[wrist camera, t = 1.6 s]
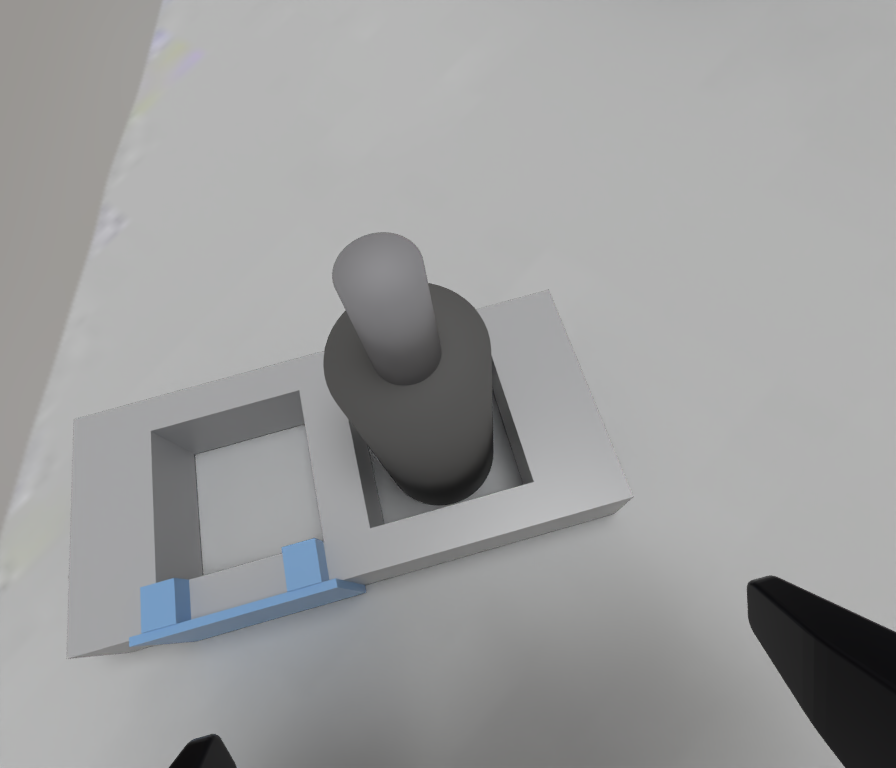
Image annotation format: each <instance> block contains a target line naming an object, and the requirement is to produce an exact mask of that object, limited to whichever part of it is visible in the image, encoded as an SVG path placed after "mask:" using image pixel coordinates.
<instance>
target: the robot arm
mask: <svg viewBox="0 0 896 768" xmlns="http://www.w3.org/2000/svg"><path fill="white" fill-rule="evenodd" d="M747 603H748V619H749V623H750V626H751V628H752V630H753V632H754V634H755V635H756V637H757V639H758V640H759V642H760V643H761V645H762V646H763V648H764V650H765V651H766V653H767V654H768V656H769V657H770V659H771V661H772V662H773V664H774V665H775V667H776V668H777V670H778V672H779V673H780V675H781V676H782V678H783V679H784V681H785V683H786V684H787V686H788V687H789V689H790V690H791V692H792V694H793V695H794V697H795V698H796V700H797V701H798V703H799V705H800V706H801V708H802V709H803V711H804V712H805V714H806V715H807V717H808V718H809V720H810V721H811V723H812V724H813V726H814V727H815V728H816V730H817V731H818V733H819V734H820V735H821V737H822V738H823V739H824V741H825V742H826V743H827V745H828V746H829V747H830V748H831V750H832V751H833V752H834V754H835V755H836V756H837V758H838V759H839V760H840V761H841V763H842V764H843V765H844V767H845V768H896V632H895V631H892V630H890V629H888V628H886V627H884V626H882V625H880V624H877V623H875V622H873V621H871V620H869V619H867V618H865V617H862V616H860V615H858V614H856V613H854V612H852V611H849V610H847V609H845V608H843V607H841V606H839V605H837V604H834V603H832V602H830V601H828V600H826V599H824V598H821V597H819V596H817V595H815V594H813V593H811V592H809V591H806V590H804V589H802V588H800V587H798V586H796V585H794V584H791V583H789V582H787V581H785V580H783V579H781V578H778V577H776V576H765V577H762V578H758V579H755V580H751V581H750V582H749V583H748V585H747ZM169 768H237V767H236V764H235V762H234V760H233V759H232V757H231V755H230V754H229V752H228V750H227V748H226V747H225V745H224V743H223V741H222V740H221V738H220V737H219V736H218V735H216V734H210V735H207V736H203V737H200V738H196V739H194V740H192V741H190V742H189V743H188V744H187V745H186V746H185V747H184V749H183V750H182V751H181V752H180V754H179V755H178V756H177V758H176V759H175V760H174V762H173V763H172V764H171V766H170V767H169Z"/></svg>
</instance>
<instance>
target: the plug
mask: <svg viewBox="0 0 896 768" xmlns="http://www.w3.org/2000/svg"><path fill="white" fill-rule="evenodd" d="M332 279H333V284H334V287H335V289H336V291H337V293H338V295H339V297H340V299H341V301H342V303H343V305H344V308H345V310H346V311H345V312H344V313H343V314H342V315H341V316H340V318H339V319H338V320H337V322H336V323H335V325H334V327H333V328H332V330H331V332H330V335H329V337H328V340H327V343H326V346H325V351H324V360H323V368H324V376H325V380H326V384H327V387H328V389H329V391H330V394H331V396H332V397H333V399H334V400H335V402H336V403H337V405H338V406H339V407H340V409H341V410H342V411H343V413H344V414H345V415H346V417H347V418H348V419H349V421H350V422H351V423H352V425H353V426H354V427H355V429H356V430H357V431H358V433H359V434H360V435H361V437H362V438H363V439H364V441H365V442H366V443H367V445H368V446H369V447H370V449H371V450H372V451H373V453H374V454H375V455H376V457H377V458H378V459H379V461H380V462H381V463H382V465H383V466H384V467H385V469H386V470H387V471H388V473H389V474H390V475H391V477H392V478H393V479H394V481H395V482H396V483H397V485H398V486H399V487H400V488H401V489H402V490H403V491H404V492H405V493H406V494H407V495H409V496H410V497H412V498H413V499H415V500H417V501H419V502H422V503H425V504H430V505H448V504H453V503H456V502H459V501H461V500H463V499H465V498H467V497H469V496H470V495H472V494H473V493H474V492H475V491H476V490H477V489H479V487H480V486H481V485H482V484H483V483H484V481H485V479H486V478H487V476H488V474H489V472H490V469H491V466H492V461H493V411H492V359H491V342H490V337H489V334H488V330H487V328H486V325H485V323H484V321H483V319H482V318H481V316H480V314H479V313H478V312H477V311H476V309H475V308H474V307H473V306H472V305H471V304H470V303H469V302H468V301H467V300H466V299H464V298H463V297H461V296H460V295H458V294H457V293H455V292H453V291H451V290H449V289H447V288H444V287H441V286H438V285H434V284H430V283H428V281H427V276H426V271H425V266H424V261H423V257H422V255H421V252H420V251H419V249H418V248H417V247H416V245H415V244H414V243H413V242H411V241H410V240H409V239H407V238H405V237H403V236H401V235H398V234H394V233H386V232H380V233H373V234H368V235H365V236H362V237H360V238H358V239H356V240H354V241H353V242H351V243H350V244H349V245H347V246H346V247H345V248H344V249H343V250H342V252H341V253H340V254H339V256H338V257H337V259H336V261H335V264H334V267H333V272H332Z"/></svg>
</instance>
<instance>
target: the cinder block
mask: <svg viewBox="0 0 896 768" xmlns="http://www.w3.org/2000/svg"><path fill="white" fill-rule="evenodd" d="M476 311H477V312H478V313H479V314H480V316H481V318H482V319H483V321H484V323H485V325H486V328H487V330H488V334H489V337H490V342H491V359H492V389H493V392H494V395H495V398H496V402H497V405H498V408H499V411H500V414H501V417H502V420H503V423H504V426H505V429H506V432H507V435H508V438H509V441H510V444H511V447H512V450H513V454H514V457H515V460H516V463H517V466H518V469H519V472H520V475H521V478H522V481H523V484H524V485H521V486H518V487H514V488H511V489H507V490H504V491H500V492H496V493H493V494H489V495H486V496H482V497H479V498H475V499H472V500H468V501H465V502H461V503H458V504H454V505H451V506H447V507H444V508H440V509H437V510H433V511H429V512H426V513H422V514H419V515H415V516H412V517H408V518H405V519H401V520H398V521H394V522H391V523H387V524H384V520H383V516H382V511H381V506H380V501H379V497H378V492H377V487H376V482H375V478H374V473H373V468H372V463H371V459H370V454H369V449H368V445H367V443H366V442H365V441H364V439H363V438H362V437H361V435H360V434H359V433H358V431H357V430H356V429H355V427H354V426H353V425H352V423H351V422H350V421H349V419H348V418H347V417H346V415H345V414H344V413H343V411H342V410H341V409H340V407H339V406H338V405H337V403H336V402H335V400H334V399H333V397H332V396H331V394H330V391H329V389H328V387H327V384H326V380H325V376H324V368H323V360H324V351H322V352H318V353H314V354H311V355H307V356H303V357H300V358H296V359H293V360H289V361H285V362H282V363H278V364H274V365H271V366H267V367H263V368H260V369H256V370H252V371H249V372H245V373H241V374H238V375H234V376H230V377H227V378H223V379H219V380H216V381H212V382H208V383H205V384H201V385H197V386H194V387H190V388H186V389H183V390H179V391H175V392H172V393H168V394H164V395H161V396H157V397H153V398H150V399H146V400H142V401H139V402H135V403H131V404H128V405H124V406H120V407H117V408H113V409H110V410H106V411H102V412H99V413H95V414H91V415H88V416H84V417H80V418H77V419H74V423H73V457H72V491H71V524H70V558H69V591H68V625H67V658H66V659H71V658H81V657H91V656H101V655H111V654H121V653H130V652H133V651H137V650H140V649H144V648H147V647H151V646H154V645H158V644H170V643H182V642H194V641H199V640H203V639H206V638H210V637H213V636H217V635H220V634H224V633H227V632H231V631H234V630H238V629H241V628H245V627H248V626H252V625H255V624H259V623H262V622H266V621H269V620H272V619H276V618H279V617H283V616H286V615H290V614H293V613H297V612H300V611H304V610H307V609H311V608H314V607H318V606H321V605H325V604H328V603H332V602H335V601H339V600H342V599H346V598H349V597H353V596H356V595H360V594H363V593H366V589H365V585H367V584H371V583H374V582H378V581H381V580H385V579H388V578H392V577H395V576H399V575H402V574H405V573H409V572H412V571H416V570H419V569H423V568H426V567H430V566H433V565H437V564H440V563H444V562H447V561H451V560H454V559H458V558H461V557H465V556H468V555H472V554H475V553H479V552H482V551H486V550H489V549H493V548H496V547H500V546H503V545H507V544H510V543H514V542H517V541H521V540H524V539H528V538H531V537H535V536H538V535H542V534H545V533H549V532H552V531H556V530H559V529H563V528H566V527H570V526H573V525H577V524H580V523H584V522H587V521H591V520H594V519H597V518H601V517H604V516H608V515H611V514H615V513H616V512H617V511H618V510H619V509H620V508H621V507H623V506H624V505H625V504H626V503H627V502H628V501H630V500H631V499H632V498H633V497H634V496H633V494H632V491H631V489H630V486H629V484H628V481H627V479H626V477H625V474H624V472H623V469H622V467H621V464H620V462H619V459H618V457H617V455H616V452H615V450H614V447H613V445H612V442H611V440H610V438H609V435H608V433H607V430H606V428H605V425H604V423H603V420H602V418H601V416H600V413H599V411H598V408H597V406H596V403H595V401H594V398H593V396H592V394H591V391H590V389H589V386H588V384H587V381H586V379H585V376H584V374H583V372H582V369H581V367H580V364H579V362H578V359H577V357H576V355H575V352H574V350H573V347H572V345H571V342H570V340H569V337H568V335H567V333H566V330H565V328H564V325H563V323H562V320H561V318H560V315H559V313H558V311H557V308H556V306H555V303H554V301H553V298H552V296H551V294H550V291H549V290H545V291H541V292H538V293H534V294H530V295H527V296H523V297H519V298H516V299H512V300H508V301H505V302H501V303H497V304H494V305H490V306H486V307H483V308H479V309H476ZM303 424H305V429H306V435H307V441H308V447H309V453H310V460H311V466H312V472H313V478H314V484H315V490H316V497H317V503H318V509H319V515H320V521H321V528H322V534H323V540H324V542H323V541H321V540H318V539H316V538H313V539H309V540H306V541H302V542H299V543H295V544H292V545H288V546H285V547H282V553H281V554H278V555H274V556H271V557H267V558H264V559H260V560H257V561H253V562H250V563H246V564H242V565H239V566H235V567H232V568H228V569H225V570H221V571H218V572H214V573H211V574H207V575H204V576H203V571H202V556H201V542H200V527H199V512H198V498H197V483H196V469H195V454H198V453H201V452H205V451H209V450H212V449H216V448H219V447H223V446H227V445H230V444H234V443H238V442H241V441H245V440H248V439H252V438H256V437H259V436H263V435H266V434H270V433H274V432H277V431H281V430H284V429H288V428H292V427H295V426H299V425H303Z"/></svg>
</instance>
